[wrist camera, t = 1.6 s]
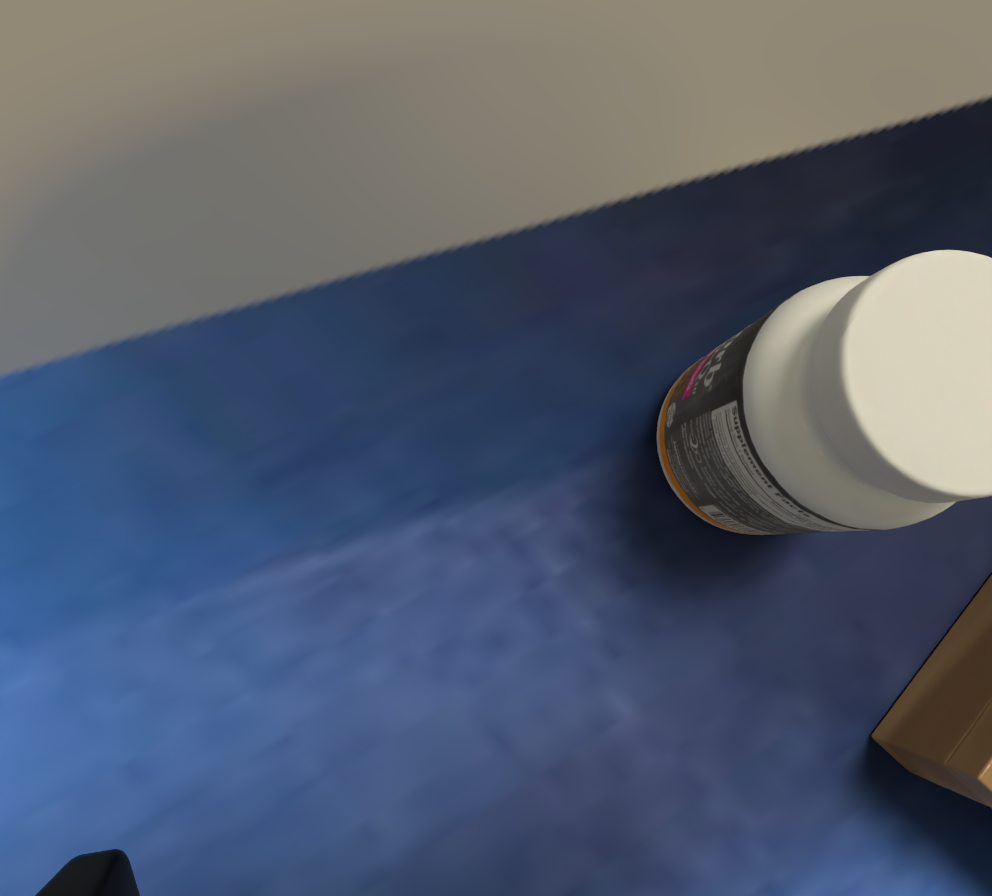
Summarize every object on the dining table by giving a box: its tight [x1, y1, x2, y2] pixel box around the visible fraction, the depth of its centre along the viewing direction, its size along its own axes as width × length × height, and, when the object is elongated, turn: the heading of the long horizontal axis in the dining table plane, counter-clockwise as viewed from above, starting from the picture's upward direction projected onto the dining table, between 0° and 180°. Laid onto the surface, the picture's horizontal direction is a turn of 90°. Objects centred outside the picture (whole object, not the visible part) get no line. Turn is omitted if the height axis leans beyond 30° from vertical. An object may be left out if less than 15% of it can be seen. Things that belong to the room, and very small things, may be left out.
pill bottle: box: [657, 250, 992, 535], centre depth 19 cm, size 6×6×10 cm
